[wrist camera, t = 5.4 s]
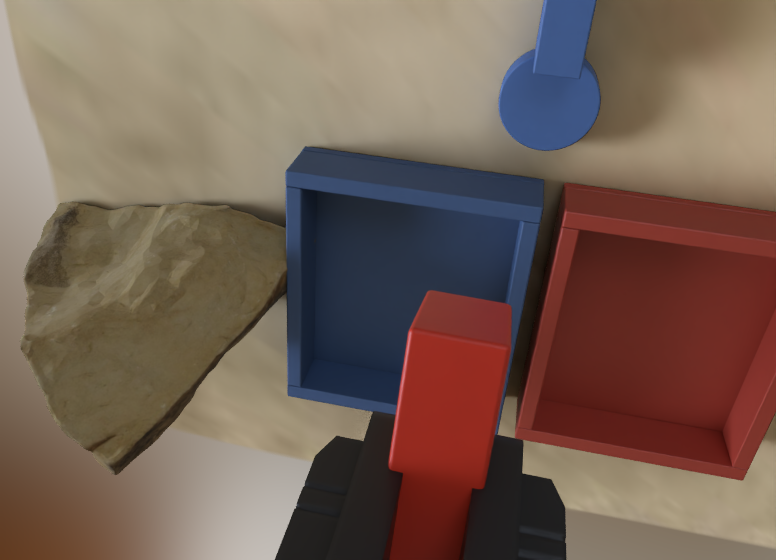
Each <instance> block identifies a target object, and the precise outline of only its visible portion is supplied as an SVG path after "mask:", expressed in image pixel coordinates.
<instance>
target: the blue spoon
mask: <svg viewBox="0 0 776 560" xmlns="http://www.w3.org/2000/svg"><path fill="white" fill-rule="evenodd" d="M596 1H597V0H544V2H543V8H542V14H541V20H540V25H539V31H538V37H537V43H536V48H535V49H533V50H531V51H529V52H527V53H525V54H524V55H522V56H521V57H520V58H518V59H517V60H516V61H515V62H514V63H513V64H512V65H511V67H510V68H509V70H508V71H507V73H506V75H505V77H504V79H503V82H502V86H501V91H500V96H499V113H500V117H501V120H502V123H503V125H504V127H505V128H506V130H507V131H508V133H509V134H510V135H511V136H512V137H513V138H514V139H515V140H516V141H518V142H519V143H521V144H523V145H525V146H527V147H529V148H532V149H536V150H544V151H549V150H557V149H562V148H565V147H567V146H570V145H572V144H574V143H575V142H577V141H578V140H580V139H581V138H582V137H583V136H584V135H585V134H586V133H587V132H588V131H589V130H590V129H591V127H592V126H593V124H594V122H595V120H596V118H597V116H598V113H599V109H600V101H601V96H600V89H599V83H598V79H597V76H596V73H595V71H594V69H593V68H592V66H591V65H590V63H589V62H588V61H587V60H586V59H585V53H586V49H587V44H588V39H589V34H590V30H591V25H592V20H593V16H594V11H595V6H596Z"/></svg>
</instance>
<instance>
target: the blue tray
mask: <svg viewBox="0 0 776 560" xmlns="http://www.w3.org/2000/svg"><path fill="white" fill-rule="evenodd" d="M543 206H544V180H543V179H536V178H528V177H521V176H514V175H507V174H500V173H493V172H485V171H478V170H471V169H464V168H457V167H450V166H442V165H435V164H428V163H421V162H414V161H407V160H400V159H392V158H385V157H378V156H371V155H364V154H357V153H349V152H342V151H335V150H328V149H321V148H314V147H304V149H303V150H302V152H301V153H300V154H299V155H298V157H297V158H296V159H295V160H294V162H293V163H292V164H291V165H290V166H289V168H288V169H287V170H286V263H287V269H288V270H287V363H288V396H291V397H297V398H302V399H307V400H313V401H318V402H323V403H329V404H334V405H340V406H345V407H350V408H356V409H361V410H366V411H372V412H374V411H379V412H384V413H389V414H394V415H396V409H397V403H398V396H399V390H400V383H401V376H402V370H403V363H404V357H405V350H406V344H407V337H408V331H409V329H410V327H411V325H412V323H413V321H414V319H415V317H416V314H417V312H418V310H419V308H420V306H421V304H422V302H423V300H424V298H425V296H426V294H427V292H428V291H431V290H433V291H439V292H445V293H450V294H456V295H461V296H467V297H473V298H478V299H484V300H489V301H495V302H501V303H506V304H509V305H510V306H511V308H512V324H511V354H510V359H509V364H508V369H507V374H506V380H505V385H504V390H503V395H502V400H501V405H500V411H499V416H498V421H497V426H496V431H495V435H497V434H498V429H499V424H500V419H501V414H502V409H503V404H504V399H505V395H506V390H507V385H508V380H509V375H510V370H511V365H512V360H513V355H514V351H515V346H516V341H517V336H518V331H519V326H520V321H521V316H522V312H523V307H524V302H525V297H526V292H527V287H528V282H529V277H530V272H531V268H532V263H533V258H534V253H535V248H536V243H537V238H538V233H539V228H540V222H541V219H542V214H543ZM315 239H316V242H315V243H314V241H315Z"/></svg>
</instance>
